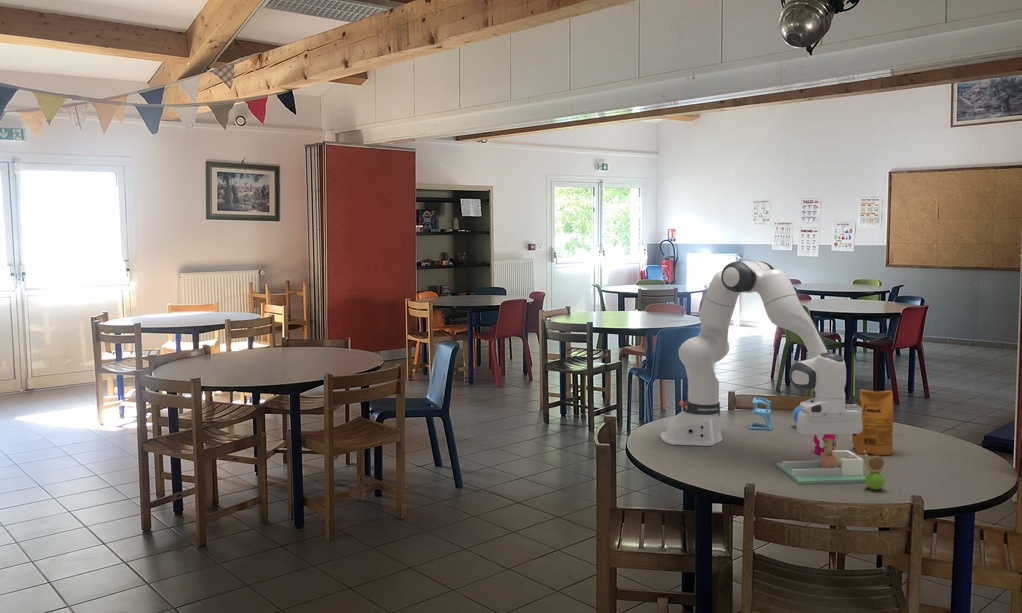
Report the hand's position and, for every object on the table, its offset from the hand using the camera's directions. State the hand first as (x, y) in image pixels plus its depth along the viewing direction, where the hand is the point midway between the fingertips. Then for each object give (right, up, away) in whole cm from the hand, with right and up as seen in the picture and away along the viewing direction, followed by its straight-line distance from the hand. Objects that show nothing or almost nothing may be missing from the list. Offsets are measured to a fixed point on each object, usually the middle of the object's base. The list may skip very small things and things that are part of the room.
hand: (828, 447), depth 248 cm
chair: (-4, -3, +56) cm, 56 cm away
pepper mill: (+8, -6, +23) cm, 26 cm away
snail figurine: (+8, -10, -13) cm, 19 cm away
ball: (+5, -6, +1) cm, 8 cm away
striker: (0, -7, +1) cm, 7 cm away
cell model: (+14, -3, +55) cm, 57 cm away
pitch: (-2, -9, +1) cm, 9 cm away
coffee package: (+25, -6, +24) cm, 35 cm away
